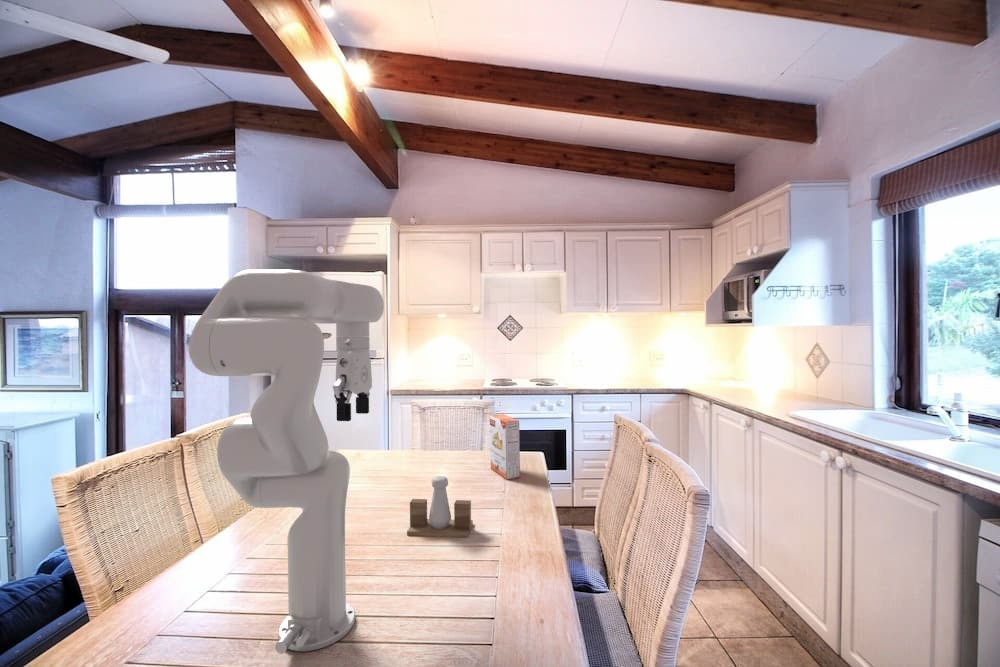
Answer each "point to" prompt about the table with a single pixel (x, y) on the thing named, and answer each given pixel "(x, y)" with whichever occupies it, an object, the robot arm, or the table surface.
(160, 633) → the table surface
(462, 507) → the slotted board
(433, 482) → the salt shaker
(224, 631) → the table surface
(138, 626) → the table surface
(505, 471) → the cracker box
